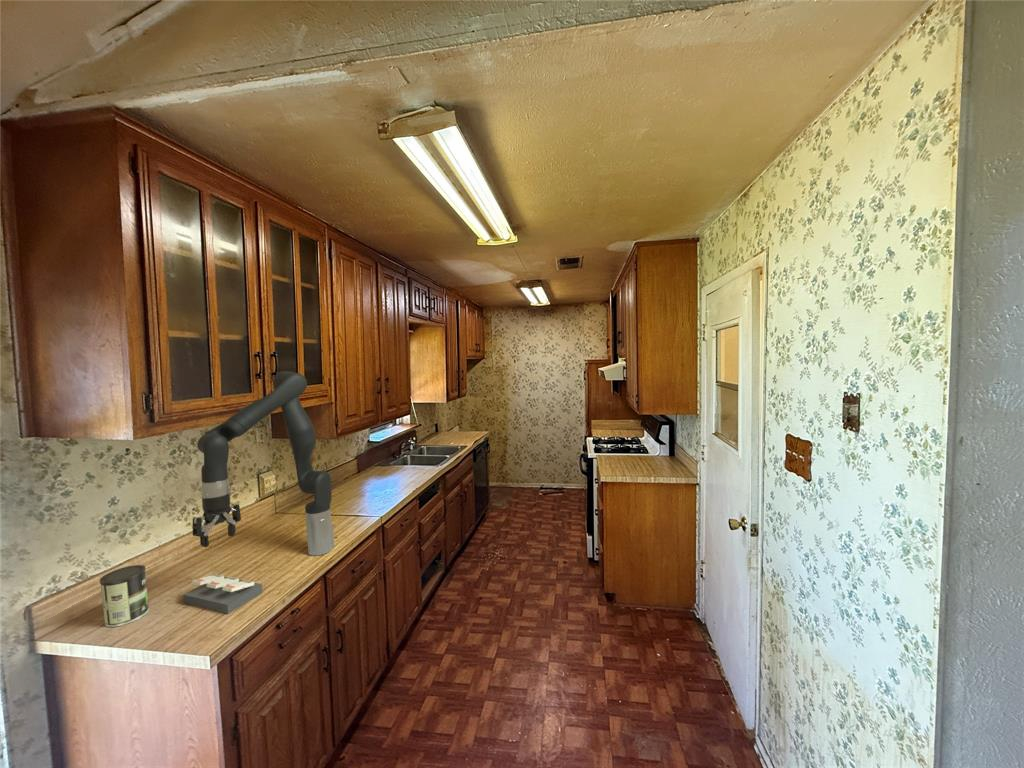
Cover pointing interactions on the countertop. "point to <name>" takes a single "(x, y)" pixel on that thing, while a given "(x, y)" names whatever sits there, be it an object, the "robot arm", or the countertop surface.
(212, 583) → the rocker
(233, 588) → the rocker
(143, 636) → the countertop surface
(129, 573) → the coffee can
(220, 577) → the rocker
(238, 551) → the countertop surface
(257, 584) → the rocker switch panel
